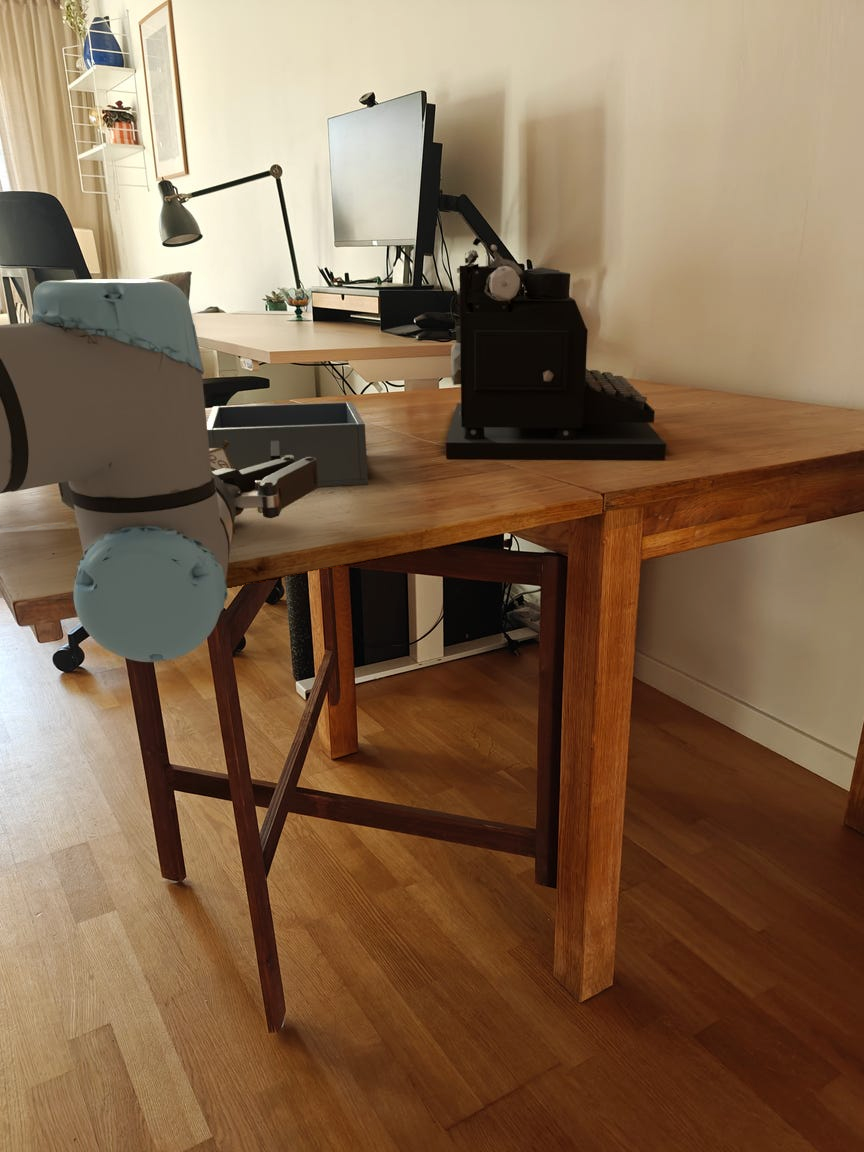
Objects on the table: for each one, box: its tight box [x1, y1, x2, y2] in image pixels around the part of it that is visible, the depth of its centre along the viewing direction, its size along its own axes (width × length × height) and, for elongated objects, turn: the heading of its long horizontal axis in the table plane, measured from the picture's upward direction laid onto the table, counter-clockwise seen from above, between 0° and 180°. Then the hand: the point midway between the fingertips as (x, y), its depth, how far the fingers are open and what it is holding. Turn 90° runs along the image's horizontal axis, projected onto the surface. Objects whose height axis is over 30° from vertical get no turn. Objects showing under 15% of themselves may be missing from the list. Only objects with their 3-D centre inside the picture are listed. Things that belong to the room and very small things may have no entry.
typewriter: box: [445, 237, 667, 461], centre depth 116 cm, size 31×27×25 cm
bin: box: [207, 401, 369, 488], centre depth 99 cm, size 17×16×7 cm
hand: (199, 458), depth 77 cm, fingers open, 13 cm apart
